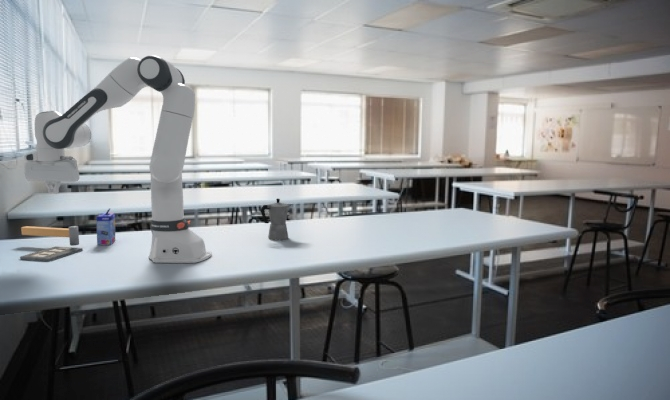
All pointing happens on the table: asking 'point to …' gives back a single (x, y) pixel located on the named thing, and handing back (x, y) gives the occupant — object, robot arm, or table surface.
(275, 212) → the coffeepot
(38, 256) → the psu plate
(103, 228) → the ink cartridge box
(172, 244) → the robot arm
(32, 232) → the hammer
